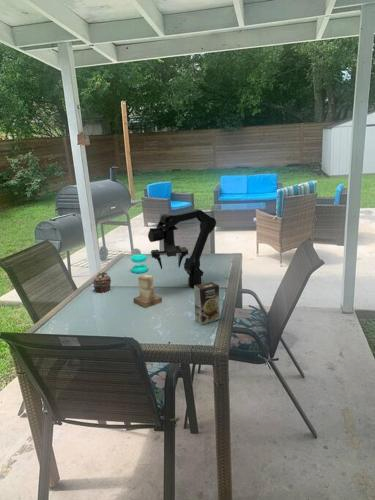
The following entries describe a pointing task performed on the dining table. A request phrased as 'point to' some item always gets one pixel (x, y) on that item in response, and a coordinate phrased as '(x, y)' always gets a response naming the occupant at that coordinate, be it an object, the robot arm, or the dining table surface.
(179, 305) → the dining table surface
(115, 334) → the dining table surface
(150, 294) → the maple block
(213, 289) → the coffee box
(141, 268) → the cyan spool
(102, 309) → the dining table surface
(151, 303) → the walnut slab
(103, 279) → the cupcake
